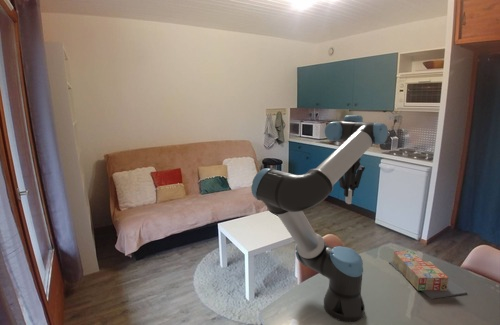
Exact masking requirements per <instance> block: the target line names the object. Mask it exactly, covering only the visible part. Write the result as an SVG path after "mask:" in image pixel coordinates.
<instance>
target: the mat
mask: <svg viewBox="0 0 500 325" xmlns="http://www.w3.org/2000/svg"><path fill="white" fill-rule="evenodd" d="M423 262H424V260H423ZM388 264H389V265H390V266H392V267H393V268H394V269H395V270H397V271H398V272H399V274H401V275H402V276H403V277H404V278H406V277H405V276H404V274H403V273H402V272H401V271H400V270H399V269H398V268H397V267H396V266H395V264H394V263H393V261H388ZM421 292H422V294H424V295H425V296H427V297H428V298H429V299H431V300H432V299H433V300H434V299H440V298H448V297H454V296H462V295H467V294H468V292H467V291H466V290H465V289H463V288H462V287H460V286H459V285H457V284H456V283H455V282H453V281H452V280H450V279H448V286H447V291H428V290H425V291H421Z"/></svg>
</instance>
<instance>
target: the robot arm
mask: <svg viewBox="0 0 500 325" xmlns="http://www.w3.org/2000/svg"><path fill="white" fill-rule="evenodd" d="M363 118H364V117H363V116H362V115H360V114H359V115H357V114H356V115H355V114H350V115H348V114H347V115H345V116H344V117H343V120H341V121H339V120H337V121H336V120H335V121H332V122H329V123H327V124H326V126H325V127H324V136H325V138H326V139H327V140H329V141H332V142H334V141H335V142H337V141H342V143H341V145H340V146H338V148H336V149H335V150H334V151H333V152H332V153H331V154H330V155H329V156H328V157H326V158H325V159H324V160H323V161H322V162H321V163H320V164H319V165H318V166H317V167H316V168H310V169H308V171H307V172H306V173H303V174H293V173H290V172H286V171H283V170H282V171H281V170H277V169H276V168H269V167H268V168H267V167H266V168H262V169H260V170H259V171H258V172H257V173H256V174H255V176H254V177H253V179H252V184H251V187H250V188H251V189H250V190H251V194H252V196H253V197H254V198H255V199H256V200H258V201H261V202H262V203H264V205H265V207H266V208H267V209H268V211H269V212H270V213H271V214H272V215H277V216H278V218H279V219H280V221H281V222H282V224H283V226H284V227H285V229H286V230H287V232H288V233H289V235H290V236H291V237H292V240H294V242H295V243H296V246H295V257H296V259H297V260H298V262H300V263H301V264H302V265H303V266H305V267H307V268H308V269H309V268H310V269H311V270H312V271H315V272H316V273H318V274H320V275H322V276H323V277H325V278H327V279H328V288H327V290H326V292H325V295H324V296H323V308H324V310H325V312H326V313H327V314H328V315H329V316H330V317H332V318H333V319H335V320H336V321H341V322H343V323H356V322H359V321H361V320H362V319H363V317H364V316H365V310H366V309H365V308H366V307H365V304H364V299H363V296H362V283H363V282H362V281H363V274H364V262H363V259H362V256H361V255H360V254H359V253H358V252H357V251H356V250H354V249H352V248H350V247H347V246H341V245H340V246H339V245H338V246H331V245H328V244H327V243H326V242H325V240H324V238H323V237H322V235H321V234H318V233H316V231H315V230H314V228H313V226H312V225H311V223H310V222H309V220H308V218H307V216H306V215H305V213H304V211H306V210H309V209H310V208H311V209H312V208H314V207H315V206H316V205H318V204H320V203H321V202H323V201H325V199H327V198H328V196H330V194H332V192H333V190H334V185H335V184H336V183H338V182H339V186H340V188H342V189H343V190H344V192H343V195H344V197H345V198H344V199H345V201H344V202H345V203H346V204H347V205H352V200H353V198H352V197H354V193H355V192H354V191H356V189H359V187H360V186H359V185H360V182H361V179H362V176H363V172H364V171H365V169H366V167H365V166H363V165H361V162H360V161H361V157H362V156H363V155H364V154H365V153H366V152H367V151H368V150H369V149H370V148H371V147H372V146H373V145H374V144H375V145H382V144H384V143H385V142H386V141H387V139H388V136H389V128H388V126H387V125H386V124H385V123H384V122H383V123H381V122H369V121H368V122H365V121H364V120H363Z"/></svg>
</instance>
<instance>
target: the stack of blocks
mask: <svg viewBox="0 0 500 325" xmlns="http://www.w3.org/2000/svg"><path fill="white" fill-rule="evenodd" d="M392 255H393V256H392V262H393V263H394V264H395V266H396V267H397V268H398V269H399V270H400V271H401V272H402V273H403V274H404V276H405V277H404V276H403V277H404V278H406V279H407V281H408V282H409V283H411V285H412V286H413V287H414V288H415V289H416V291H418V292H419V291H421V292H422V291H425V290H428V291H447V286H448V279H449V276H447V275H446V274H445V273H444V272H443V271H442V270H440V269H439V268H438V267H437V266H436V265H435V264H434V263H433V262H431V261H430V260H429V261H424V260H423V259H422V258H421V257H420V256H419V255H417V254H416V253H415V252H414V251H413V250H404V251H401V250H399V251H397V250H396V251H393V254H392ZM423 261H424V262H423ZM449 280H450V279H449Z"/></svg>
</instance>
